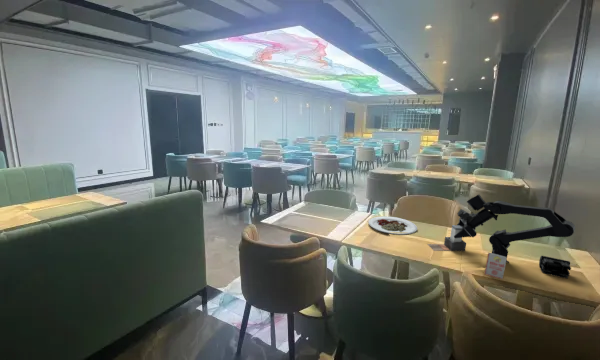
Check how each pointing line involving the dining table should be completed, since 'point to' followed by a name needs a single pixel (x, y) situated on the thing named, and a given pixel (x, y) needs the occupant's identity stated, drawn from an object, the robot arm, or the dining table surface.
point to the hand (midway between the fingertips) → (453, 234)
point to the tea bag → (495, 265)
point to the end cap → (554, 266)
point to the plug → (454, 231)
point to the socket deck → (449, 245)
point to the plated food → (392, 225)
